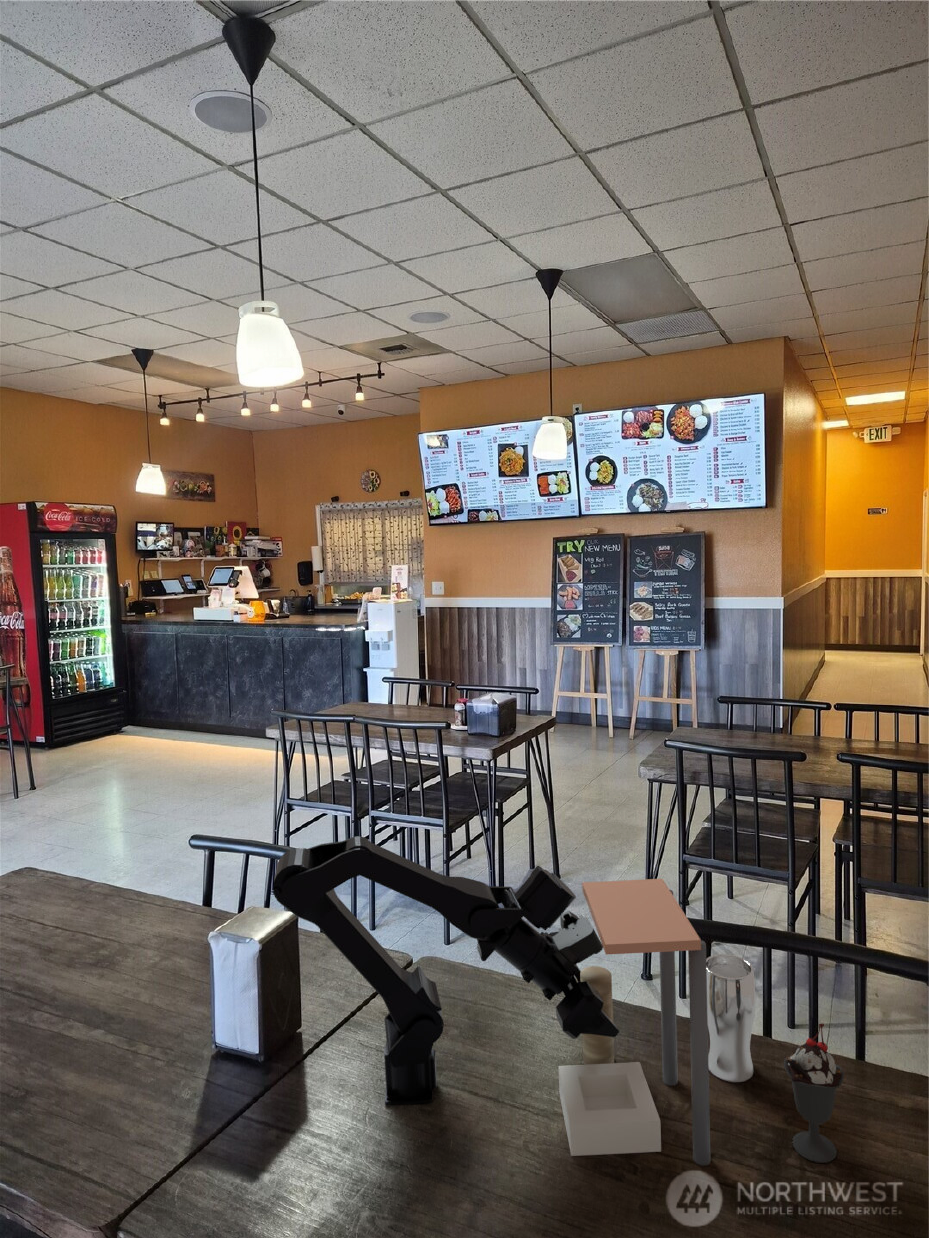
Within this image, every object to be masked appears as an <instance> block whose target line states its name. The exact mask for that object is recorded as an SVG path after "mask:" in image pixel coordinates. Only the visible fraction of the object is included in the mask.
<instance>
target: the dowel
mask: <svg viewBox="0 0 929 1238" xmlns="http://www.w3.org/2000/svg"><path fill="white" fill-rule="evenodd" d="M580 971H581V973H580V980H581V982H584V981H587V982H588V983H589V984H590V985H591V986H592V987H593V988H594V989H595V990H596V991H598V993H599V995H600V996H601V998H602V1000H603V1002H604V1004H603V1008H602V1010H603V1012H604V1013H605V1014H606V1015H607V1016H608V1018H609V1019H610V1020H611V1021H612V1022H613V1023H614V1015H613V1014H614V1012H613V1009H614V1007H613V983H612V980H613V979H612V972H611V971H610V970H609V969H607V968H605V967H601V966H599V965H597V966H596V965H595V966H594V965H593V966H587V967H585V968H583V969H581V970H580ZM581 1035H582V1036H581V1037H582V1053H583V1054H582V1057H583V1059H582V1060H583V1065H588V1064H609V1063H615V1044H614V1043H615V1042H614V1037H608V1036H601V1035H593V1034H581Z"/></svg>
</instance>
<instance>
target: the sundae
mask: <svg viewBox="0 0 929 1238" xmlns="http://www.w3.org/2000/svg"><path fill="white" fill-rule="evenodd" d="M823 1027H825V1024H824V1022H823V1023H818V1032H817V1033H816V1035H815V1036H814V1037H813V1038H811V1037H808V1038H807V1039H806V1042H805V1043H804V1044H801V1045H799V1046H798V1047H797V1049H796V1051H795V1053H794V1054H793V1053H792V1054H791V1055H788V1056H787V1057H785V1058H784V1060H783V1066H784V1070H785V1071H786V1073H787V1076H788V1077H789V1078H790V1079H791V1085H792V1093H793V1097H794V1102H795V1105H796V1110H797V1112H798V1113H799V1114H800V1115H801V1117H802V1118H803V1119H804V1120H806V1121H807V1122H808V1131H807V1130H806V1131H800V1132H798V1133H796V1134H795V1135H793V1138H792V1140H793V1141H792V1140H791V1141H792V1143H793V1144H792V1147H793V1148H795V1149H794V1150H795V1151H796V1152H797V1154H799V1155H800V1156H801V1157H803V1159H806V1160H808V1161H810V1162H813V1161H814V1162H813V1163H820V1164H821V1163H822V1164H824V1163H830V1162H831V1161H833V1160H834V1159H836V1157H837V1152H838V1151H837V1147H836V1146H835V1144H834V1143H833V1141H831V1140H830V1139H829V1138H828V1137H826V1136H825V1135H823V1134H820V1125H823V1124H825V1123H827V1122H828V1121H829V1120H830V1119H831V1118H832V1115H833V1111H834V1107H835V1101H836V1096H837V1095H836V1094H837V1093H836V1092H837V1089H838V1088H839V1087H841V1086H842V1084H843V1082H844V1080H845V1074H844V1069H843V1068H842V1067H841V1066H840V1065H838V1063H836V1061H835V1059H834V1057H833V1056H832V1055H831V1053H829V1052H828V1048H829V1047H828V1045H827V1044H826V1043H825V1041H824V1035H823ZM820 1032H821V1033H820ZM819 1034H820V1035H821V1041H818V1042H817V1041H816V1038H817V1037H818V1035H819Z"/></svg>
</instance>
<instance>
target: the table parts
mask: <svg viewBox="0 0 929 1238" xmlns="http://www.w3.org/2000/svg"><path fill="white" fill-rule="evenodd" d="M581 883H582V884H581V885H582V886H581V888H582V894H583V896H584V900H585V902H586V905H587V907H588V910H589V912H590V915H591V918H592V922H593V923H594V926H595V929H596V933H597V934H598V935H597V936H598V938H599V940H600V942H601V943H602V946H603V950H604V953H605V955H606V956H607V955H608V956H609V955H623V954H627V955H628V954H641V953H642V954H644V953H659V980H660V986H659V987H660V988H659V989H660V1017H661V1018H660V1019H661V1020H660V1021H661V1023H660V1024H661V1025H660V1026H661V1027H660V1028H661V1059H662V1060H661V1061H662V1066H661V1067H662V1082H663V1083H664V1084H665V1085H667V1086H670V1087H671V1086H676V1085H677V1084H678V1082H679V1081H678V1079H679V1077H678V1075H679V1073H678V1039H677V1038H678V1033H677V998H676V997H677V994H676V993H677V991H676V989H677V988H676V954H675V952H684V951H685V952H687V951H688V987H689V988H688V991H689V998H688V999H689V1031H690V1033H689V1034H690V1035H689V1037H690V1043H689V1044H690V1076H691V1077H690V1080H691V1117H692V1118H691V1119H692V1120H691V1123H692V1124H691V1127H692V1160H693V1162H695V1164H696V1165H698V1166H703V1167H705V1166H708V1165H710V1164H711V1121H710V1120H711V1118H710V1114H711V1113H710V1079H709V1077H710V1076H709V1075H710V1074H709V1073H710V1072H709V1071H710V1070H709V1064H708V1056H709V1029H708V1016H707V968H706V959H707V943H706V942H705V941H704V940H701V937H700V936H699V935H698V933H697V931H696V930H695V928H694V927H693V925H692V923H691V922H690V920H689V919H688V917H687V916H686V914H685V912H684V910H683V909H682V908H681V906H680V904H679V903H678V901H677V900H676V898H675V896H674V891H673V890H672V889H669V887H668V885H667V883H666V882H665V881H664V879H663V878H649V879H629V880H627V879H626V880H608V881H588V882H587V881H586V882H585V881H582V882H581ZM558 1085H559V1086H558V1088H559V1089H558V1091H559V1098H560V1104H561V1108H562V1109H561V1110H562V1114H563V1119H564V1126H565V1131H566V1135H567V1139H568V1140H567V1141H568V1147H569V1150H570V1151H569V1152H570V1156H572V1157H577V1156H579V1157H580V1156H597V1155H615V1154H616V1155H619V1154H620V1155H621V1154H639V1153H656V1152H659V1153H660V1152H662V1140H661V1139H662V1135H661V1134H662V1133H661V1132H662V1131H661V1130H662V1129H661V1118H660V1115H659V1113H658V1110H657V1108H656V1104H655V1102H654V1099H653V1096H652V1094H651V1091H650V1088H649V1085H648V1083H647V1079H646V1077H645V1074H644V1071H643V1067H642V1065H641V1062H640V1061H634V1062H633V1061H632V1062H614V1063H609V1064H588V1065H585V1064H573V1065H558Z"/></svg>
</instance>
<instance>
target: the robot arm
mask: <svg viewBox="0 0 929 1238" xmlns="http://www.w3.org/2000/svg"><path fill="white" fill-rule="evenodd" d="M359 876H361V877H363V878H365V879H368V880H370V881H372V882H374V883H376V884H379V885H381V886H383V887H385V888H387V889H389V890H392V891H393V892H396V893H399V894H401V895H403V896H405V897H407V898H410V899H412V900H414V901H417V902H419V903H420V904H423V905H425V906H427V907H429V908H432V909H433V910H435V911H436V912H437V913H439V914H440V915H441V916H442V917H444V919H445V920H446V921H448V922H449V923H450V924H451V925H452V926H453V927H455V928H457V929H458V930H459V931H460V932H462V933H464V934H465V935H467V936H468V937H469V938H471V939H475V940H476V941H477V945H476V948H477V952H478V955H479V957H480V959H481V961H482V962H486V961H487V960H488V959H489V958H490V956H492V954H493V953H494V952H496V953H497V954H498V955H499V956H500V957H502V958H503V959H504V960H505V961H506V962H508V963H509V964H510V965H511V966H513V967H514V968H515V969H516V970H518V972H519V973H520V975H521V977H522V979H523V980H524V981H525V982H526V983H527V984H530V983H531V982H532V983H533V984H535V985H536V986H537V987H538V988H540V989H541V991H542V994H543V996H544V998H545V999H547V1000H548V1001H551V1000H553V998H554V997H555V996H556V995H560V994H561V993H563V994H564V997H563V998H562V1000H561V1001H559V1002H558V1004H557V1005H556V1006H555V1015H556V1019H557V1020H558V1023H559V1025H560V1028H561V1030H562V1032H563V1033H565V1034H566V1035H567V1036H568V1037H570V1038H571V1039H573V1040H575V1039H578V1038H579V1037H580V1036H581V1035H582V1034H593V1035H601V1036H608V1037H613V1038H616V1037H617V1036H618V1034H619V1033H620V1030H619V1028H618V1027H617V1026H616V1025H615V1023H614V1021H613V1022H612V1021H611V1020H610V1019H609V1018H608V1016H607V1015H606V1014H605V1013H604V1012H603V1010H602V1008H603V1004H604V1002H603V1000H602V998H601V996H600V995H599V993H598V991H596V990H595V989H594V988H593V987H592V986H591V985H590V984H589V983H588V982H587V981H584V982H581V980H580V973H581V971H582V970H581V969H580V968H579V966H578V964H580V963H582V962H583V961H585V960H587V959H589V958H590V957H592V956H594V955H598V954H600V953H601V952H602V950H604V948H603V946H602V943H601V940H600V937H599V935H597V934H598V933H597V931H595V928H594V926H592V924H591V922H590V921H589V919H588V918H587V917H583V914H580V915H579V917H578V915H576V914H575V913H573V912H572V911H570V910H567V909H568V908H569V906H570V905H571V904H572V903H574V901H575V900H576V898H577V896H576V895H575V893H574V892H573V891H572V890H571V888H569V886H567V884H565V882H564V881H563V880H562V879H560V877H558V876H557V875H556V874H555V873H554V872H551V871H549V870H547V869H544V868H543V867H542V866H540V865H536V866H535V868H533V870H532V872H531V873H530V874H529V876H528V878H527V879H526V880H525V881H524V882H523V884H522V885H521V886H520V887H519V889H517V891H516V892H515V891H514V889H513V887H512V886H501V885H500V886H497V885H496V886H494V885H493V886H492V885H490V886H489V885H488V884H487V883H485V882H482V881H480V880H476V879H472V878H468V877H464V876H449V875H444V874H442V873H439V872H436V871H434V870H432V869H429V868H427V867H426V866H423V865H421V864H419V863H417V862H415V861H413V860H410V859H408V858H406V857H404V856H401V855H400V854H398V853H394V852H392V851H390V850H389V849H386V848H384V847H382V846H380V845H377V844H376V843H373V842H371V841H370V840H369V839H368V838H366V837H364V836H359V835H358V836H353V837H350V838H347V839H344V840H342V841H341V840H340V841H334V842H327V843H321V844H318V845H314V846H312V847H309V848H306V847H302V848H300V847H295V848H292V849H289V850H288V851H286V852H284V853H283V854H282V856H281V857H280V858H279V860H278V862H277V864H276V869H275V874H274V879H273V888H272V889H273V895H274V897H275V899H276V901H277V902H278V903H279V904H280V905H281V906H283V907H284V908H285V909H286V910H288V911H289V912H290V913H292V914H293V915H295V916H296V917H297V918H299V919H302V920H303V921H307V922H309V923H311V924H313V925H315V926H316V927H318V929H320V931H321V932H322V933H323V934H324V935H325V936H326V938H327V939H329V941H330V942H331V943H332V944H333V945H334V946H335V948H336V949H337V950H338V951H339V952H340V953H341V954H342V955H343V956H344V957H345V959H346V960H347V961H348V962H350V964H351V965H352V966H353V967H354V969H355V970H357V972H358V973H359V974H360V975H361V976H362V977H363V978H364V979H365V981H366V982H367V983H368V984H369V985H370V986H371V987H372V989H374V991H375V992H376V993H377V994H378V995H379V997H381V999H382V1000H383V1002H384V1004H385V1006H386V1008H387V1010H388V1013H387V1014H386V1016H384V1018H383V1019H384V1031H385V1045H384V1046H385V1047H384V1055H383V1056H384V1057H383V1058H384V1072H385V1074H384V1075H385V1093H384V1104H385V1105H388V1106H389V1105H412V1104H413V1105H414V1104H428V1103H430V1104H431V1103H432V1102H433V1100H434V1099H433V1098H434V1090H436V1089H437V1080H438V1079H437V1076H438V1075H437V1058H436V1057H437V1054H436V1050H435V1048H433V1046H434V1043H436V1042H437V1041H438V1040H439V1038H441V1036H442V1033H444V1032H443V1031H444V1025H445V1023H444V1018H443V1014H442V1010H443V1009H442V1008H443V1007H442V1004H441V1000H440V996H439V990H438V986H437V983H436V982H434V981H432V980H431V979H430V978H428V977H427V976H426V974H425V973H424V971H423V969H422V967H420V966H419V965H418V966H417V967H416V968H414V970H413V972H411V971H409V970H406V969H404V968H403V967H401V966H400V964H398V963H397V962H396V960H394V958H393V957H392V956H391V955H390V953H388V952H387V951H386V949H385V948H384V947H383V946H382V945H381V944H380V943H379V941H378V940H377V939H376V938H375V937H374V936H373V934H371V933H370V931H369V930H368V929H367V928H366V927H365V926H364V924H363V923H362V922H361V921H360V920H359V919H358V918H357V916H355V914H354V913H353V912H352V911H351V910H350V909H349V908H348V907H347V906H346V905H345V903H344V902H343V901H342V900H341V899H340V898H339V896H338V894H337V893H336V891H335V889H336V888H337V887H339V886H341V885H343V884H344V883H347V881H350V880H351V879H354V878H357V877H359ZM499 904H502V906H503V907H500V905H499ZM566 910H567V911H566ZM523 918H525V919H526V920H527V921H528V922H529V923H528V922H527V921H525V919H523ZM559 918H560V927H558V928H557V931H552V932H549V933H548V932H547V930H548V929H550V928H551V927H553V925H554V924H555V923H556V921H557V920H558V919H559ZM531 924H532V925H533V926H532V925H531ZM536 929H539V930H540V929H543V930H542V931H541V932H539V931H538V930H536ZM544 931H545V932H544Z"/></svg>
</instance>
